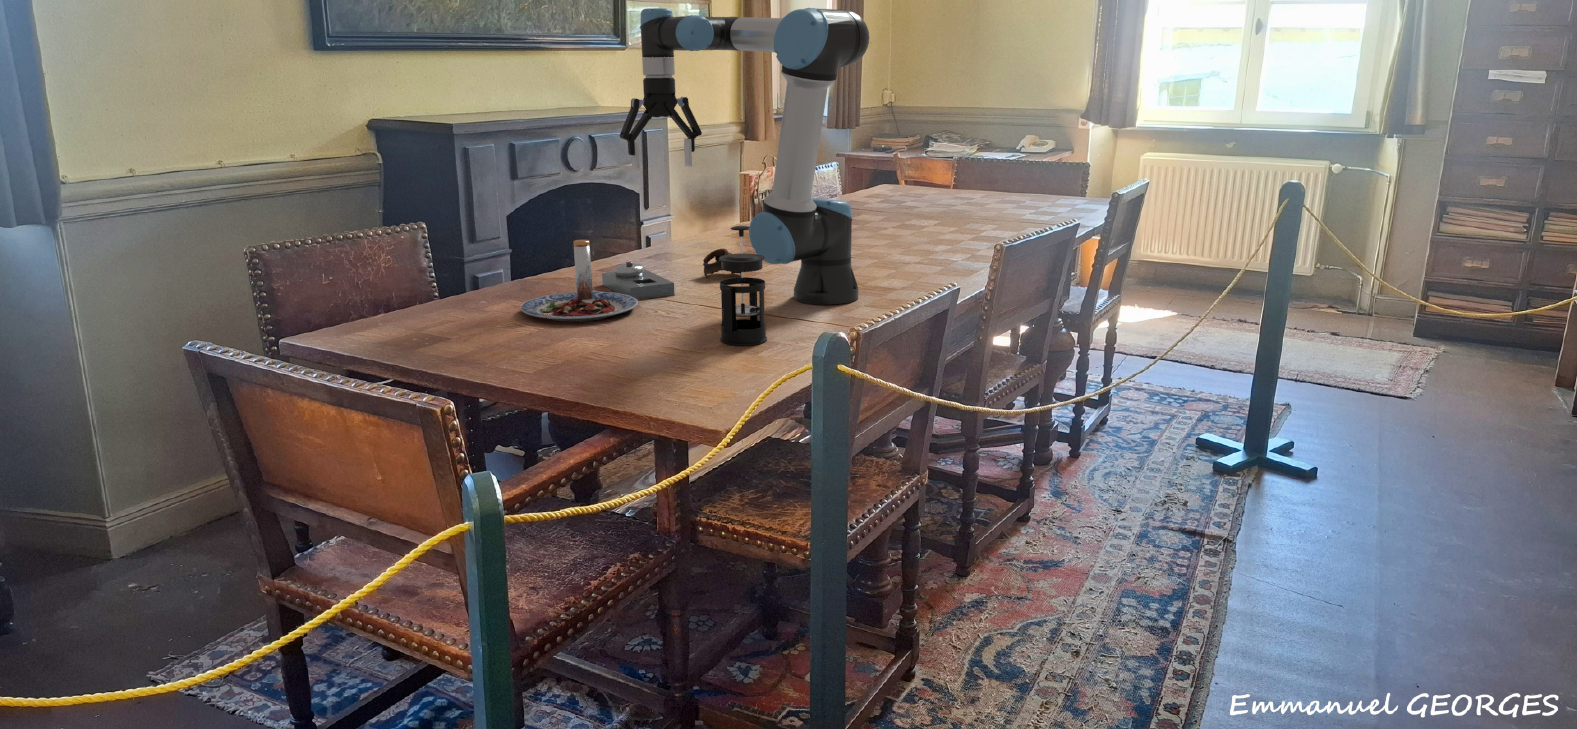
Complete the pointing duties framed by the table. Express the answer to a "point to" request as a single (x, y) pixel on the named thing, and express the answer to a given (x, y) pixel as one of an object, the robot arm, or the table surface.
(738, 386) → the table surface
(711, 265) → the broken brown mug
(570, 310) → the ceramic plate
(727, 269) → the french press
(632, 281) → the block
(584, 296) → the pin
